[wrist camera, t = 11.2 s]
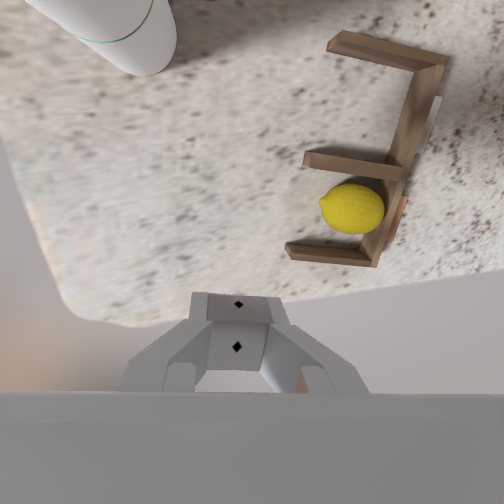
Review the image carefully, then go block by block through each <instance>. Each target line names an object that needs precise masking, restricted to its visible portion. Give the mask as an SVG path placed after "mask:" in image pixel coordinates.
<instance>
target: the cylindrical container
mask: <svg viewBox="0 0 504 504" xmlns="http://www.w3.org/2000/svg"><path fill="white" fill-rule="evenodd" d="M25 1H26V2H28V3H29V4H30V5H32V6H33V7H35V8H36V9H37V10H39V11H40V12H42V13H43V14H44V15H46V16H47V17H48V18H50V19H51V20H53V21H54V22H55V23H57V24H58V25H60V26H61V27H62V28H64V29H65V30H67V31H68V32H69V33H71V34H72V35H74V36H75V37H77V38H78V39H79V40H81V41H82V42H84V43H85V44H86V45H88V46H89V47H91V48H92V49H93V50H95V51H96V52H98V53H99V54H100V55H102V56H103V57H105V58H106V59H107V60H109V61H110V62H112V63H113V64H114V65H116V66H117V67H119V68H120V69H122V70H123V71H125V72H127V73H129V74H132V75H137V76H149V75H154V74H156V73H158V72H160V71H161V70H163V69H164V68H165V67H166V66H167V65H168V63H169V62H170V61H171V59H172V57H173V55H174V52H175V48H176V42H177V32H176V25H175V21H174V18H173V15H172V12H171V9H170V6H169V3H168V0H25Z"/></svg>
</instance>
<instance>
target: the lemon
mask: <svg viewBox="0 0 504 504" xmlns="http://www.w3.org/2000/svg"><path fill="white" fill-rule="evenodd" d="M319 204H320V206H321V207H322V215H323V217H324V219H325V221H326V222H327V223H328V224H329V225H330V226H331V227H332V228H334V229H335V230H338V231H340V232H344V233H348V234H363V233H367V232H370V231H372V230H373V229H375V228H376V227H377V226H378V225H379V224H380V223H381V221H382V219H383V217H384V204H383V201H382V199H381V198H380V196H379V195H378V194H376V193H375V192H374V191H373V190H371V189H369V188H367V187H365V186H362V185H358V184H352V183H346V184H341V185H338V186H335V187H334V188H332V189H331V190H330V191H329V192H328V193H327V194H326V196H324V197H322V198H320V200H319Z"/></svg>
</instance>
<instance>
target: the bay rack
mask: <svg viewBox="0 0 504 504" xmlns="http://www.w3.org/2000/svg"><path fill="white" fill-rule="evenodd" d="M326 51H327V52H331V53H335V54H339V55H344V56H348V57H352V58H357V59H361V60H365V61H369V62H374V63H378V64H382V65H387V66H391V67H395V68H399V69H404V70H408V71H412V72H414V74H413V77H412V81H411V84H410V87H409V90H408V93H407V97H406V100H405V103H404V106H403V110H402V113H401V116H400V119H399V122H398V126H397V129H396V132H395V135H394V138H393V142H392V145H391V148H390V151H389V155H388V158H387V161H386V164H380V163H374V162H368V161H362V160H356V159H350V158H344V157H338V156H332V155H326V154H320V153H314V152H308V151H305V154H304V159H303V164H302V165H304V166H307V167H310V168H314V169H321V170H327V171H333V172H340V173H346V174H353V175H359V176H366V177H372V178H378V179H381V180H380V183H379V187H378V190H377V193H376V194H378V195H379V196H380V198H381V199H382V201H383V204H384V217H383V219H382V221H381V223H380V224H379V225H378V226H377V227H376V228H375V229H373V230H372V231H370V232H367V233H364V235H363V238H362V241H361V244H360V248H359V250H350V249H340V248H331V247H321V246H312V245H302V244H293V243H286V245H285V250H286V252H287V253H288V255H289V256H290V258H291V259H292V260H299V261H310V262H320V263H331V264H342V265H352V266H363V267H373V268H376V267H377V264H378V261H379V258H380V255H381V253H382V250H383V247H384V244H385V241H386V242H392V240H393V238H394V235H395V232H396V229H397V226H398V223H399V221H400V218H401V215H402V212H403V209H404V206H405V204H406V201H407V198H408V197H407V196H402V195H401V194H402V191H403V188H404V186H405V183H406V180H407V177H408V174H409V171H410V168H411V165H412V162H413V159H414V156H415V154H416V153H417V154H423V152H424V150H425V147H426V144H427V141H428V138H429V135H430V133H431V130H432V127H433V124H434V121H435V118H436V116H437V113H438V110H439V107H440V104H441V101H442V99H443V97H440V96H436V92H437V89H438V87H439V84H440V81H441V78H442V75H443V72H444V69H445V66H446V63H447V60H448V57H449V56H445V55H441V54H437V53H433V52H429V51H425V50H421V49H417V48H413V47H409V46H405V45H401V44H397V43H393V42H389V41H385V40H381V39H377V38H373V37H369V36H365V35H361V34H357V33H353V32H349V31H345V30H342V31H341V32H340V33H339V34H337V35H336V36H335V37H334V38H332V39H331V40H330V41H329V42H328V45H327V49H326Z"/></svg>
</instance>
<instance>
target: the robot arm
mask: <svg viewBox="0 0 504 504" xmlns="http://www.w3.org/2000/svg"><path fill="white" fill-rule="evenodd" d="M206 370H246V371H260V374H261V375H262V376H263V377H264V378H265V380H266V381H267V382H268V383H269V385H270V386H271V387H272V388H273V389H274V391H275V392H276V393H234V392H233V393H232V392H230V393H229V392H194V391H195V386H196V385H197V383H198V382H199V381H200V379H201V378H202V377H203V375H204V374H205V373H206ZM0 504H504V395H497V394H493V395H492V394H491V395H490V394H371V393H370V392H369V390H368V388H367V387H366V385H365V384H364V382H363V380H362V378H361V377H360V375H359V373H358V372H357V370H356V368H355V367H354V366H353V365H352V364H350V363H349V362H347V361H346V360H345V359H343V358H342V357H340V356H339V355H337V354H336V353H334V352H333V351H332V350H330V349H329V348H327V347H326V346H325V345H323V344H321V343H320V342H318V341H317V340H316V339H314V338H313V337H312V336H310V335H309V334H307V333H306V332H304V331H303V330H301V329H300V328H299V327H297V326H296V325H291V324H290V321H289V319H288V316H287V314H286V312H285V309H284V307H283V304H282V302H281V299H280V298H279V297H261V296H238V295H229V294H218V293H207V292H192V297H191V305H190V313H189V319H184V320H183V321H182V322H180V323H179V324H177V325H176V326H174V327H173V328H172V329H171V330H169V331H168V332H166V333H165V334H164V335H162V336H161V337H160V338H158V339H157V340H156V341H155V342H153V343H152V344H150V345H149V346H148V347H146V348H145V349H144V350H142V351H141V352H139V353H138V354H137V355H135V356H134V357H133V358H131V359H130V360H129V363H128V365H127V368H126V370H125V373H124V376H123V378H122V381H121V384H120V386H119V389H118V392H108V391H104V392H103V391H102V392H100V391H0Z"/></svg>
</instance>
